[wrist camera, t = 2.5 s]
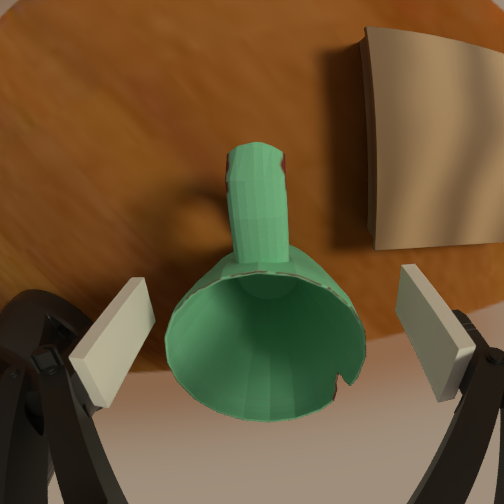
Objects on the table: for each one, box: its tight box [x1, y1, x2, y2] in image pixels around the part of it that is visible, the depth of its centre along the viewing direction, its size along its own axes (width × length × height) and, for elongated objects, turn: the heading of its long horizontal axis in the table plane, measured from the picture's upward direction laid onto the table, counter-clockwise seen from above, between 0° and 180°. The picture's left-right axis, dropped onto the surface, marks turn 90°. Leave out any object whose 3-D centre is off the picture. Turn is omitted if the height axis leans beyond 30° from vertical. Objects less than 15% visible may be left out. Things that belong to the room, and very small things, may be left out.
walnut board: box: [359, 26, 504, 250], centre depth 17 cm, size 14×14×3 cm
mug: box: [164, 142, 366, 422], centre depth 18 cm, size 15×10×10 cm
